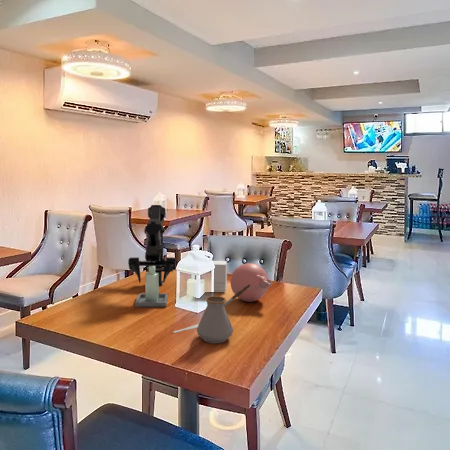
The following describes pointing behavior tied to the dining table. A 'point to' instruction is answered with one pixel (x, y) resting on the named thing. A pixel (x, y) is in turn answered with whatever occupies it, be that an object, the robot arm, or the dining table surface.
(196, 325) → the butter knife
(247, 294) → the pomegranate
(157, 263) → the robot arm
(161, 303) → the slate tray
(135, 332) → the dining table surface
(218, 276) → the supplement box
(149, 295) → the glass bottle
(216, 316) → the coffee pot
